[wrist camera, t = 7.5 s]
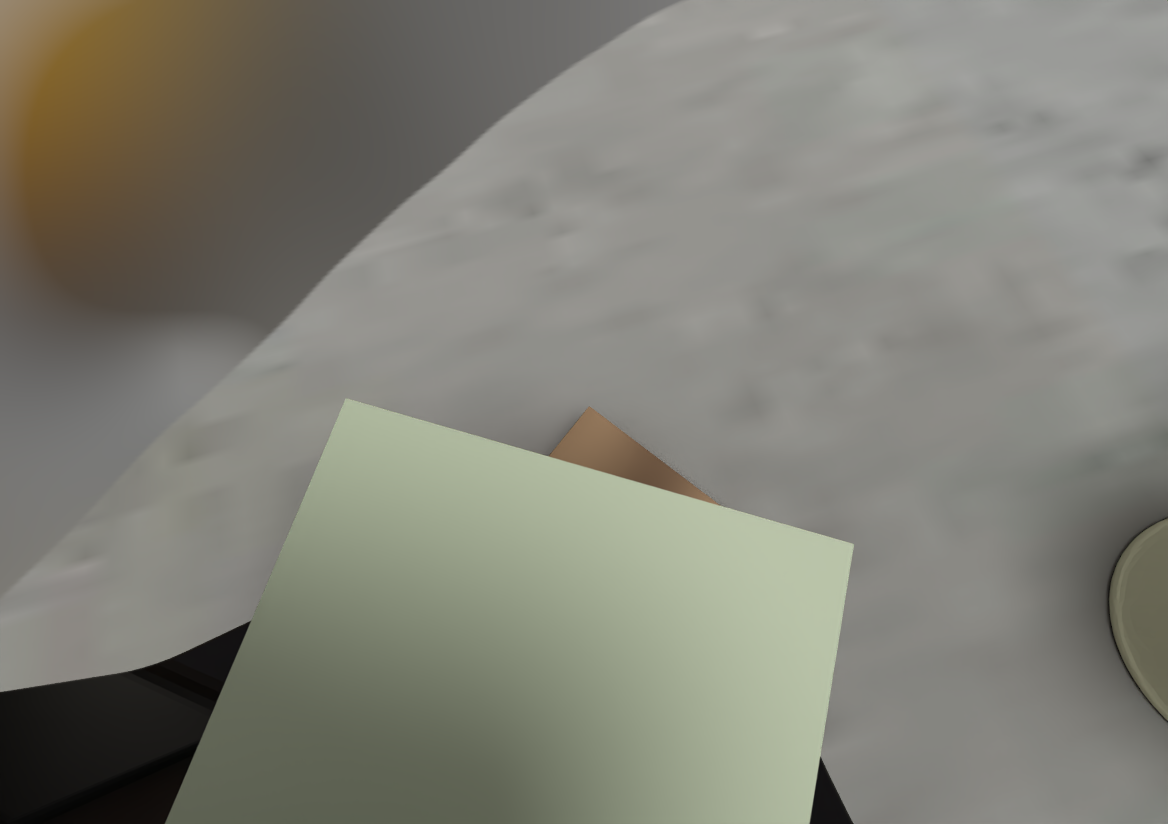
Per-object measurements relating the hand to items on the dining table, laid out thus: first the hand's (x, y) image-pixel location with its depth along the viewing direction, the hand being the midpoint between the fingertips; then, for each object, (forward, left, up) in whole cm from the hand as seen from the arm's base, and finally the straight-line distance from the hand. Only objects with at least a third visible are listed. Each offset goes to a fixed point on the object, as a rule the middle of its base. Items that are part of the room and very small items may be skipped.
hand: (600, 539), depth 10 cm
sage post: (-1, +1, -7) cm, 7 cm away
